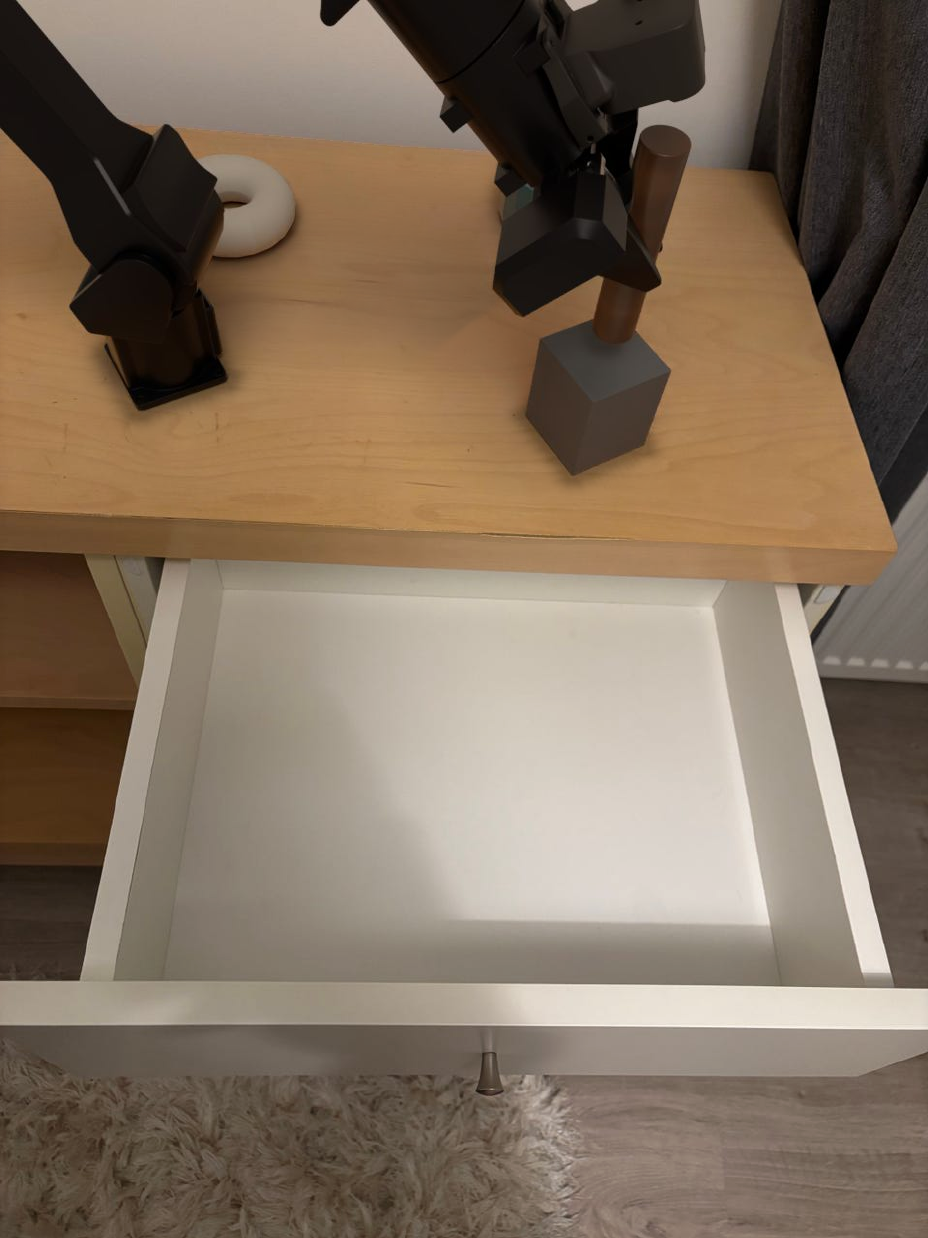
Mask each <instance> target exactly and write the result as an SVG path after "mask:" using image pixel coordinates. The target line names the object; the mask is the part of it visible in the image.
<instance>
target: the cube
mask: <svg viewBox="0 0 928 1238" xmlns="http://www.w3.org/2000/svg"><path fill="white" fill-rule="evenodd" d="M592 322H593V318H591V319H589V320H586V321H583V322H580V323H578V324H575V325H572V326H570V327H567V328H565V329H562V330H559V331H557V332H554V333H551V334H548V335H545V336H543V337H539V341H538V346H537V351H536V355H535V361H534V366H533V372H532V378H531V382H530V388H529V393H528V398H527V403H526V409H525V413H524V415H525V417H526V418H527V420H528V421H529V422H530V424H531V425H532V426H533V428H534V429H535V430H536V431H537V433H538V434H539V435H540V437H542V439H543V441H544V442H545V443H546V444H547V446H548V447H549V448H550V449H551V450H552V452H553V453H554V454H555V456H556V457H557V458H558V459H559V461H560V462H561V463H562V464H563V466H564V467H565V468H566V470H568V472H569V473H570V475H571V476H575V475H578V474H580V473H582V472H585V471H587V470H590V469H592V468H594V467H596V466H599V465H601V464H603V463H605V462H608V461H611V460H613V459H615V458H617V457H619V456H622V455H624V454H626V453H628V452H631V451H633V450H636V449H639V448H640V447H642V446H644V445H645V443H646V441H647V438H648V436H649V433H650V430H651V427H652V424H653V421H654V419H655V417H656V413H657V411H658V408H659V406H660V403H661V400H662V398H663V394H664V392H665V390H666V386H667V384H668V381H669V379H670V376H671V373H672V369H671V368H670V367H669V366H668V364H666V362H664V360H663V359H662V358H661V357H660V356H659V355H658V353H657V352H656V351H655V350H654V349H653V348H652V347H651V346H650V345H649V344H648V342H646V340H645V339H644V338H643V337H642V336H641V335H640V334H639V333H638V332H637V331H636V330H635V332H634V335H633V337H632V338H631V339H630V340H629V341H627V342H625V343H621V344H612V343H607V342H605V341H603V340H601V339H599V338H598V337H597V336H596V335H595V334H594V332H593V329H592Z"/></svg>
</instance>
